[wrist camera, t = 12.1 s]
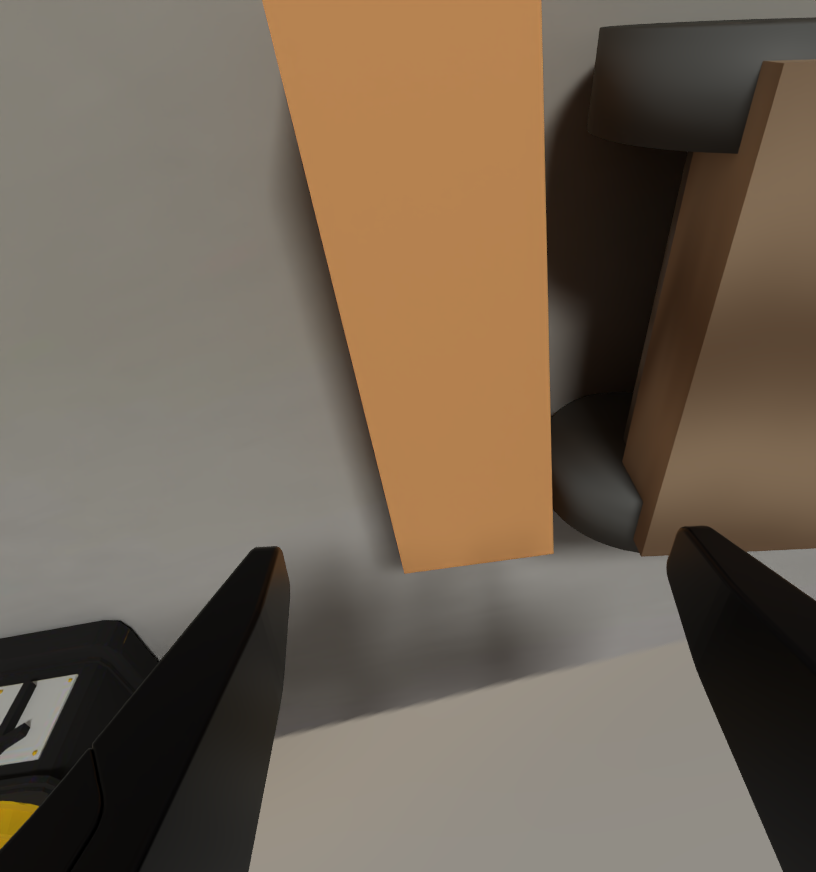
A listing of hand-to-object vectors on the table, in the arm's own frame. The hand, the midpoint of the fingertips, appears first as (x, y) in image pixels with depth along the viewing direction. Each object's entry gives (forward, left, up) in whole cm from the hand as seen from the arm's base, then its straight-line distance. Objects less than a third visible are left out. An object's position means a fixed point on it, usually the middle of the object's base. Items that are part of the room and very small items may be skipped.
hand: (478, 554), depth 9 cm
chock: (0, 0, -12) cm, 12 cm away
